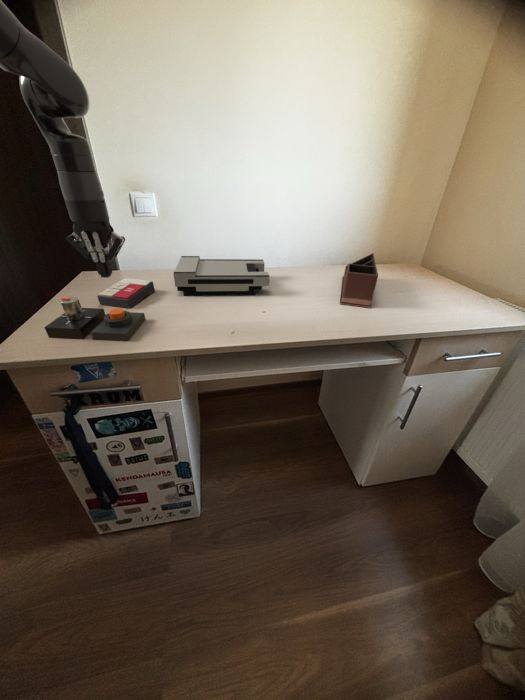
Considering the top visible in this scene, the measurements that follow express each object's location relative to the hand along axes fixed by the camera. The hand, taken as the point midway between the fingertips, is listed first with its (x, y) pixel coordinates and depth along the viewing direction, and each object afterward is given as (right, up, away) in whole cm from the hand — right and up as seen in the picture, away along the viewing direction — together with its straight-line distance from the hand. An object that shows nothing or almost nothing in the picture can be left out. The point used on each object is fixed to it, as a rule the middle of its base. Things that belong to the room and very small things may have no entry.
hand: (106, 276), depth 69 cm
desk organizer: (+74, +4, +38) cm, 83 cm away
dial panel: (-12, -12, +8) cm, 19 cm away
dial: (-12, -9, +6) cm, 16 cm away
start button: (0, -9, +6) cm, 11 cm away
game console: (+24, +6, +38) cm, 45 cm away
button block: (0, -12, +8) cm, 15 cm away
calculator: (-7, -1, +26) cm, 27 cm away
